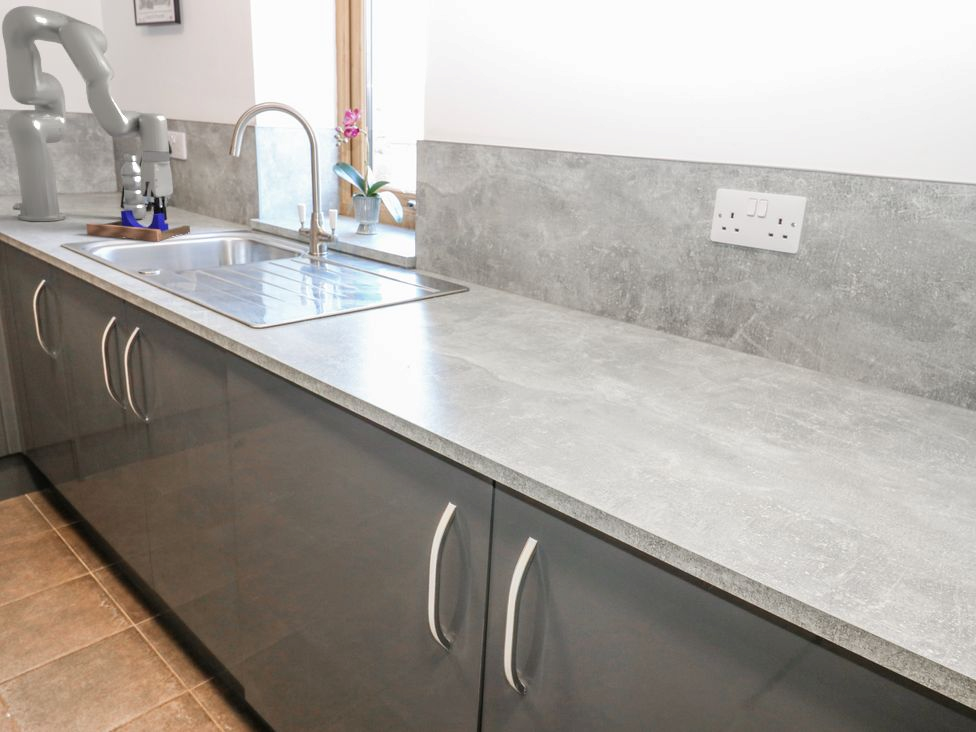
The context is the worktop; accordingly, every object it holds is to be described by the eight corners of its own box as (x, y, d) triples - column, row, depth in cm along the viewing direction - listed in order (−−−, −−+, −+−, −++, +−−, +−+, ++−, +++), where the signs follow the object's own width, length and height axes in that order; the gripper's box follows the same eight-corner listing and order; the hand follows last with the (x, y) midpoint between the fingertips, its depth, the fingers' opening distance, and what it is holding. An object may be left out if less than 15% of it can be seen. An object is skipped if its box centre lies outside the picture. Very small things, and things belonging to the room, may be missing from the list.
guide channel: (87, 234, 208) (86, 223, 207) (124, 226, 224) (123, 216, 223) (157, 241, 205) (156, 230, 204) (190, 232, 221) (189, 222, 220)
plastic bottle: (120, 218, 237) (114, 153, 230) (140, 217, 242) (134, 153, 236) (131, 221, 233) (125, 155, 227) (151, 219, 239) (146, 155, 232)
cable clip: (168, 233, 219) (167, 213, 217) (159, 235, 215) (157, 215, 213) (133, 229, 221) (131, 209, 219) (122, 231, 217) (120, 211, 215)
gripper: (158, 155, 225) (162, 216, 231) (128, 157, 211) (134, 222, 217) (181, 157, 224) (185, 218, 230) (153, 159, 210) (158, 224, 216)
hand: (160, 220), depth 224 cm, fingers closed
